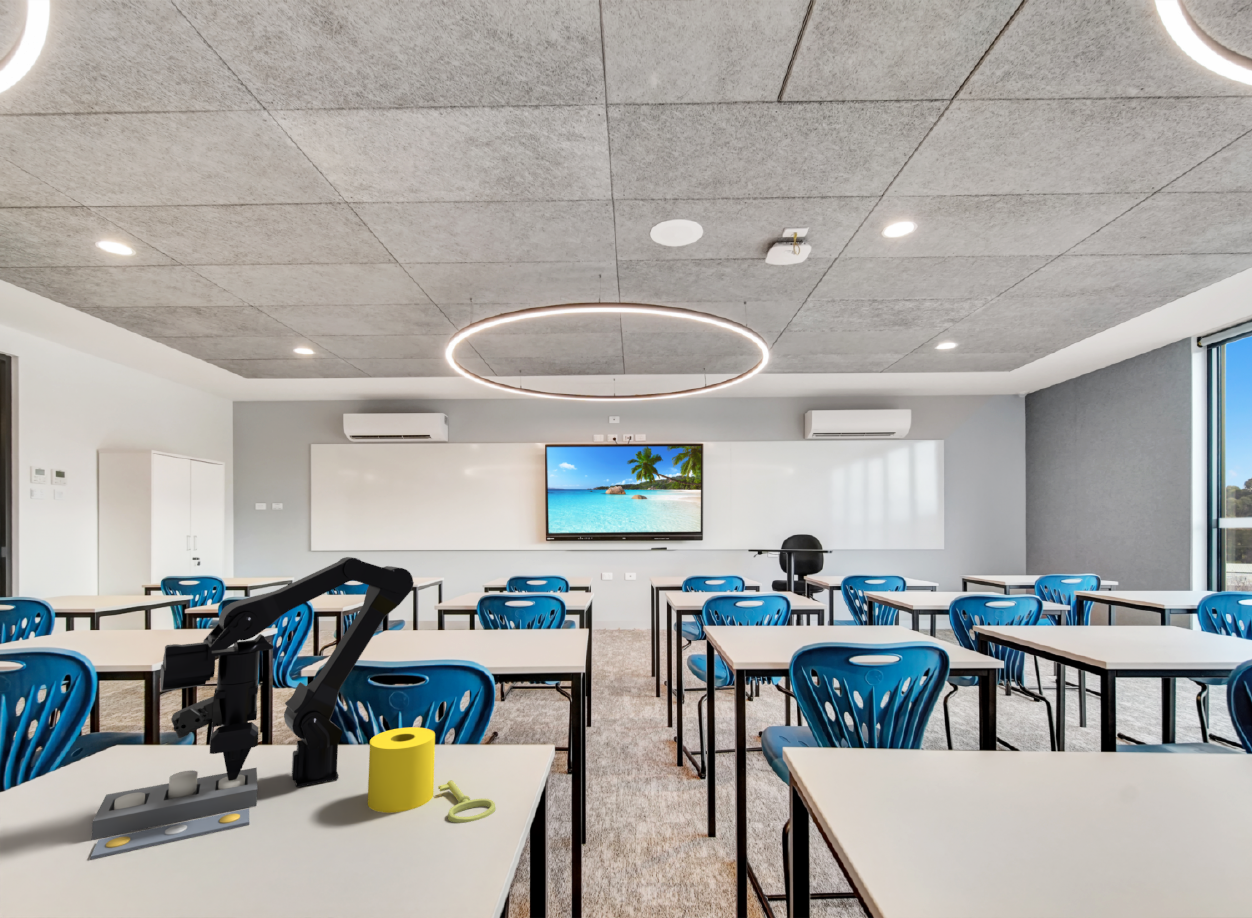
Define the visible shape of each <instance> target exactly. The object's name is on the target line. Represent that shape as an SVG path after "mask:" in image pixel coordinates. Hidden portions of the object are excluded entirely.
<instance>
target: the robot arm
mask: <svg viewBox="0 0 1252 918" xmlns="http://www.w3.org/2000/svg"><path fill="white" fill-rule="evenodd" d="M352 581H355V582H357V583H360V584H361V583H362V584H364V585H367V589H366V592H365V596H364V601H363V604H362V607H361V608H360V609H359V611H358V613H357V615H356V616H355V617H354V618H353V620H352V623H351V624H350V625H349V627H348V628H347V630H346V631H345V633H344V634H343V636H342V638H341V639H340V640H339V642H338V644H337V645H336V647H335V648H334V650H333V652H332V653H331V655H330V656H329V657H328V659H327V661H326V663H325V664H324V666H323V667H322V668H321V670H320V671H319V673H318V674H317V676H316V677H315V678H314V679H313V680H311V682H310V683H308V684H307V685H305V684H304V683H303V682H299V683H298V684H297V686H296V688H295V689H294V692H293V693H292V695H291V697H290V698H289V699H288V700H286V702H285V703H284V705H285V706H286V708H285V710H284V712H283V713H284V714H283V719H284V722H285V724H286V726H287V727H288V728H289V730H290V731H291V732H292V733H293V734H294V735H295V736H296V737H297V738H299V740H297V741H296V750H293V751H292V761H291V779H292V781H293V782H295V787H296V788H301V787H306V786H309V785H314V784H321V783H326V782H330V781H336V780H338V779H339V776H340V775H339V773H338V754H339V743H340V741H341V738H342V735H343V732H344V731H343V729H341V728H340V727H338V726H337V725H336V724H335V723H334V722H332V721H331V718H332V716H333V714H334V712H335V709H336V705H337V701H338V697H339V693H340V690H341V688H342V686H343V685H344V683H345V681H346V680H347V678H348V677H349V675H350V673H351V672H352V670H353V668H354V667H355V666H356V663H358V660H359V659H360V657H361V656H362V655H363V653H364V651H365V649H366V648H367V646H368V644H369V643H370V641H371V640H372V638H373V637H374V635H375V633H376V632H377V630H378V629H379V627H380V625H381V624H382V622H383V620H384V619H385V618H386V617H387V615H389V614H390V613H392V611H394V610H395V609H396V608H397V607H399V605H401V603H402V602H403V601H404V600H405V599H406V598H407V596H408V595H409V594H411V593H410V592H412V589H413V588H414V583H415V582H414V578H413V576H412V573H411V572H410V571H409V570H408V569H405V568H403V567H397V566H389V565H387V566H380V565H376V564H372V563H368V562H366V561H362V560H361V559H360V558H358V557H357V558H356V557H351V556H344V557H342V558H340V559H339V560H338V561H337V562H335V563H332V564H330V565H328V566H325V567H324V568H322V569H319V570H317V571H315V572H313V573H311V574H309V575H307V576H305V577H302V578H299V579H298V580H296V581H294V582H291V583H290V584H288V585H285V586H284V587H281V588H279V589H276V590H274V591H269V592H267V593H262V594H258V595H254V596H250V597H246V598H243V599H239V600H235V601H233V602H231V603H229V604H228V605H226V606H224V608H222V611H221V612H220V614H219V616H218V623H217V624H216V625H215V627H214V628H213V629H212V630H211V631H210V632H209V634H207V635H206V637H205V638H203V640H202V641H203V642H196V643H194V642H193V643H185V644H178V643H177V644H176V643H175V644H174V643H173V644H166V645H165V646H164V653H163V659H162V664H161V665H160V677H159V682H160V683H159V685H160V686H159V687H160V692H162V693H163V692H167V691H168V692H169V691H175V690H183V689H188V688H194V687H201V686H202V687H203V686H205V685H206V683H207V682H209V681H211V679H213V678H214V676H215V673H216V672H215V670H216V657H218V662H217V664H218V666H217V681H216V682H217V683H216V687H215V688H214V692H213V696H211V697H208V698H206V699H203V700H200V701H198V702H196V703H193V704H191V705H189V706H186V707H184V708H182V709H179V710H177V711H175V712H174V713H173V714H172V717H171V719H170V720H171V723H172V726H173V728H172V729H173V731H175V733H176V735H177V738H178V739H182V738H184V737H186V736H189V734H190V733H192V732H195V731H197V730H199V729H201V728H204V727H206V726H208V725H209V724H211V728H215V727H217V728H215V730H214V731H213V732H212V733H211V734H210V742H209V754H210V755H214V754H215V755H216V754H221V753H222V754H223V759H224V764H225V769H226V773H227V776H228V780H229V781H230V780H235V779H237V777H238V775H239V773H240V770H242V768H243V766H244V764H245V762H246V759H247V757H248V756H249V753H250V752H251V750H252V748H255V747H257V746H259V726H258V725H256V724H255V723H254V722H252V721H257V716H258V715H257V714H258V704H257V703H258V694H259V693H258V692H259V685H258V684H259V670H260V669H259V668H260V652H261V651H269V650H273V649H274V645H273V644H272V643H271V642H269V641H268V639H266V637H265V635H264V634H262V633H261V632H263V631H264V630H265V629H268V628H269V627H270V626H271V625H273V624H274V623H275V622H277V620H278V619H280V618H281V617H282V616H283V615H285V614H286V613H288V612H289V611H291V610H293V609H295V608H297V607H299V606H302V605H304V604H305V603H308V602H310V601H313V599H316V598H318V597H320V596H322V595H325V594H327V593H328V592H330V591H332V590H334V589H337V588H338V587H341V586H342V585H345V584H346V583H348V582H352ZM256 636H257V637H256ZM254 637H255V638H254ZM253 638H254V639H253Z"/></svg>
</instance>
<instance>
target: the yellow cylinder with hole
mask: <svg viewBox="0 0 1252 918" xmlns="http://www.w3.org/2000/svg"><path fill="white" fill-rule="evenodd" d="M435 748H436V733H435V731H434V730H432V729H429V728H425V727H417V726H416V727H414V726H413V727H411V726H410V727H409V726H408V727H399V728H394V729H389V730H386V731H383V732H380V733H378V734H375V735H374V736H373V737H371V739H370V740H369V755H368V756H369V757H368V759H369V760H368V782H367V787H368V788H367V807H369V809H371V810H372V811H375V812H378V813H388V814H392V813H395V814H396V813H401V812H409V811H411V810H415V809H417V808H420V807H423V806H425V805H426V804H427V803H429V802H430V801H431V800H432V799H433V797H434V792H435V791H434V790H435V789H434V785H435V784H434V783H435V755H436V754H435V752H436V749H435Z"/></svg>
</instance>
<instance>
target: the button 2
mask: <svg viewBox="0 0 1252 918" xmlns="http://www.w3.org/2000/svg"><path fill="white" fill-rule="evenodd" d="M243 785H245V776H244V775H238V777H237V779H235V780H230V781H229V780H228V776H227V777H224V778H222V779H221V780H219V786H218V790H222V789H227V788H232V787H237V786H243Z"/></svg>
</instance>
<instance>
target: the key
mask: <svg viewBox="0 0 1252 918" xmlns="http://www.w3.org/2000/svg"><path fill="white" fill-rule="evenodd" d="M437 789H438V790H439V792H444V791H448V790H449V792H451V794H452V795H453V797H455V799H456V800H457V804H455V805H453V806H451V807H450V809H449V810H448V812H447V813H448V814H447V819H448V821H449V822H451V823H455V824H463V823H465V824H466V823H470V822H471V823H472V822H475V821H479V820H482V819H485V818H487V817H489V816H491V815H492V814H494V813H495V811H496V809H497V808H496V803H495V801H494V800H492V799H490V798H474V799H471V798H470V796H469V795H465V794H464V793H463V792H462V790H461V789H460V787H458V785H457V783H455V782H454V780H448V781H447V783H445V784H444V783H443V784H440V785H438V788H437ZM479 807H487V808H488V809H487V810H484V811H483V812H481V813H478V814H475V815H470V816H460V815H459V816H458V815H456V814H458V813H461V812H463V811H466V810H469V809H474V808H479Z"/></svg>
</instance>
